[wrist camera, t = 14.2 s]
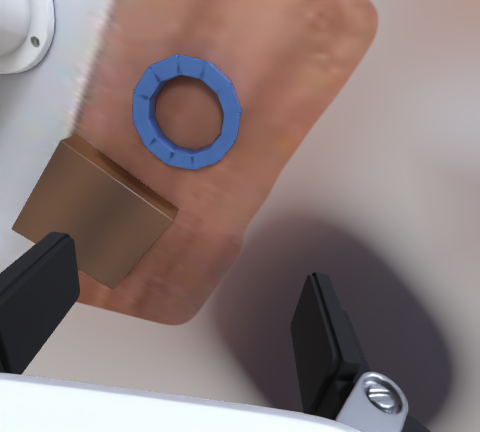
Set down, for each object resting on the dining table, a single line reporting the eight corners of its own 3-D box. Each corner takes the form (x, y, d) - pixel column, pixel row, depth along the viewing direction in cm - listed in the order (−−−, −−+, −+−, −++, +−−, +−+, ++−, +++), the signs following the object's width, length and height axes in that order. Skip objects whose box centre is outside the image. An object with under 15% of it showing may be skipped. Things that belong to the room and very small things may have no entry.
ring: (122, 119, 32) (112, 122, 29) (178, 31, 28) (172, 28, 26) (199, 180, 34) (196, 187, 32) (260, 108, 31) (261, 111, 28)
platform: (28, 217, 38) (10, 229, 35) (76, 134, 32) (60, 140, 30) (122, 275, 41) (113, 290, 39) (178, 209, 36) (173, 220, 34)
